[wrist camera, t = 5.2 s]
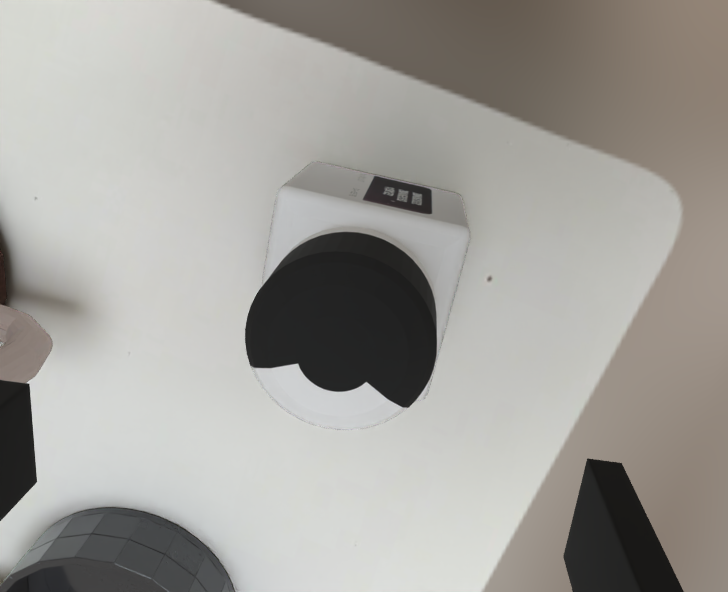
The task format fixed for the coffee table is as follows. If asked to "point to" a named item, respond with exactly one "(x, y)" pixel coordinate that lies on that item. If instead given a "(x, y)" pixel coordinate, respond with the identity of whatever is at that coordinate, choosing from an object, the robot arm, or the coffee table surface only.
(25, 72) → the coffee table surface
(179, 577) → the pan
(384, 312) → the container
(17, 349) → the mug
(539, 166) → the coffee table surface
